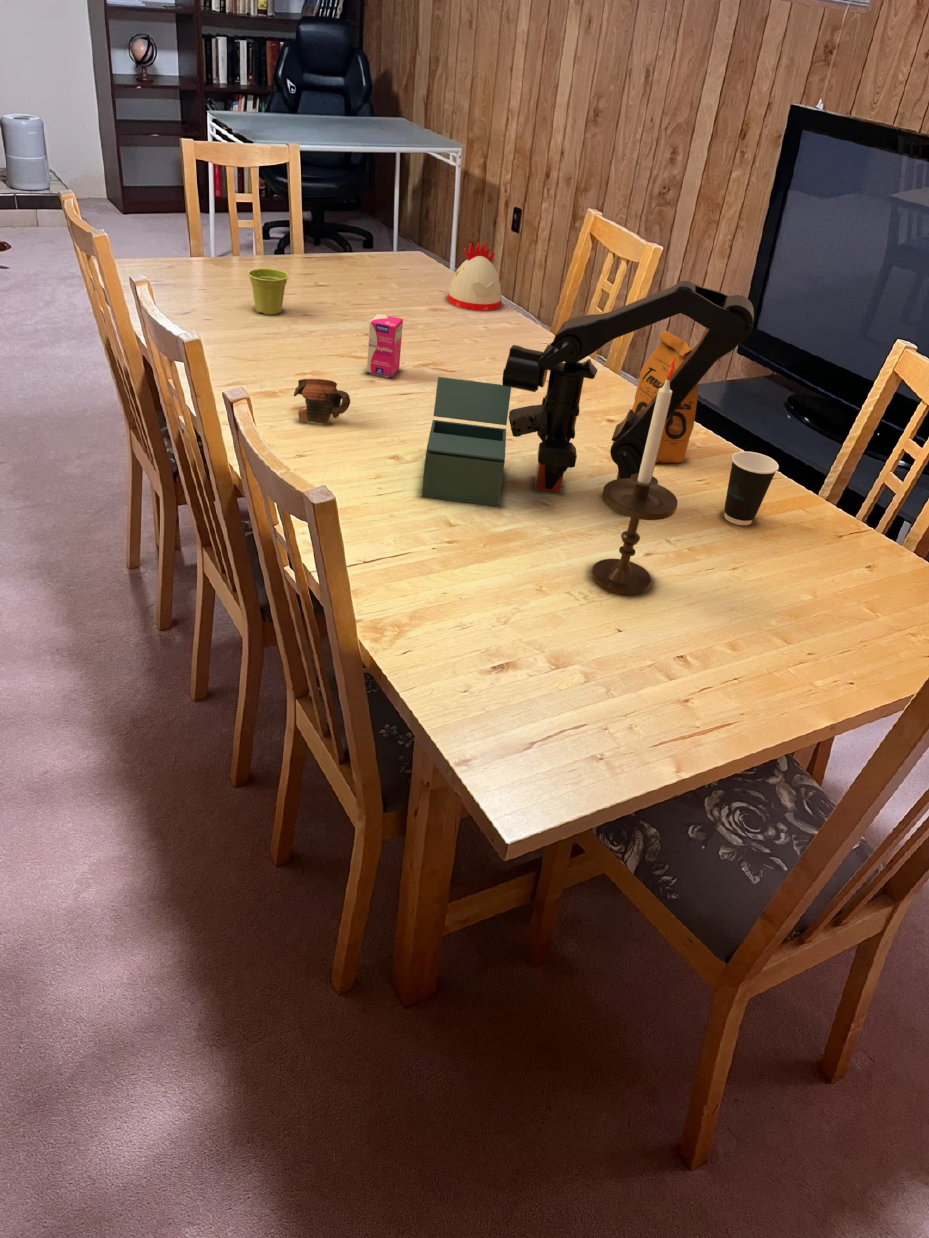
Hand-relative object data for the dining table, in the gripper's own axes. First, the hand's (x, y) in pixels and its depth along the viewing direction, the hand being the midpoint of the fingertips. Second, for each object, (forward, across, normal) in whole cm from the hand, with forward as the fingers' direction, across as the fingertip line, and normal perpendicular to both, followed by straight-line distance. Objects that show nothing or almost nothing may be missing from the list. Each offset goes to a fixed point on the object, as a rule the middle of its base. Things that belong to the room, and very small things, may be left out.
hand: (548, 480), depth 173 cm
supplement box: (+1, -44, -35) cm, 56 cm away
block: (+1, 0, 0) cm, 1 cm away
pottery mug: (+1, -18, -43) cm, 47 cm away
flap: (-11, -6, -15) cm, 19 cm away
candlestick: (+1, +29, +11) cm, 31 cm away
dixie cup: (+1, +3, +34) cm, 34 cm away
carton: (+1, +3, -15) cm, 15 cm away
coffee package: (+1, -21, +22) cm, 30 cm away
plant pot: (+1, -74, -66) cm, 99 cm away
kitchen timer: (+1, -102, -18) cm, 104 cm away
